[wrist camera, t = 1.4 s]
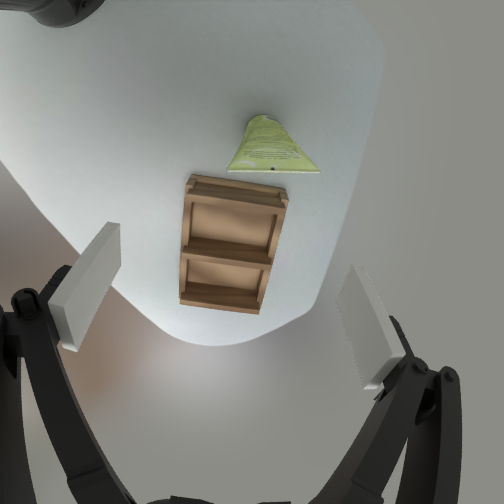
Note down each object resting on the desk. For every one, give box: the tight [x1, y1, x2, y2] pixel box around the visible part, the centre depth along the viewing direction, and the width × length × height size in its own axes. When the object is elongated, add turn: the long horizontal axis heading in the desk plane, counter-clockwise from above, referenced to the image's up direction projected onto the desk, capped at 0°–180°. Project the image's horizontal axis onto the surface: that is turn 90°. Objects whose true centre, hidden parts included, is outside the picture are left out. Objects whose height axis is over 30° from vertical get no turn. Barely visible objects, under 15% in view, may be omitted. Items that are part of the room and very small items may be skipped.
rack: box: [179, 175, 289, 315], centre depth 45 cm, size 20×14×6 cm
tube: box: [226, 115, 321, 173], centre depth 31 cm, size 6×5×20 cm
